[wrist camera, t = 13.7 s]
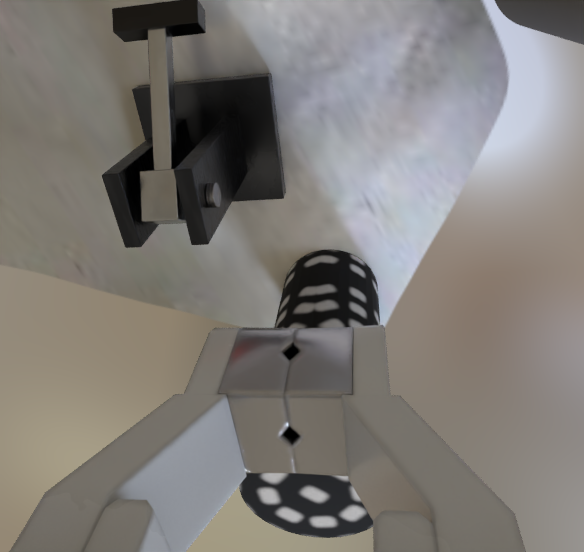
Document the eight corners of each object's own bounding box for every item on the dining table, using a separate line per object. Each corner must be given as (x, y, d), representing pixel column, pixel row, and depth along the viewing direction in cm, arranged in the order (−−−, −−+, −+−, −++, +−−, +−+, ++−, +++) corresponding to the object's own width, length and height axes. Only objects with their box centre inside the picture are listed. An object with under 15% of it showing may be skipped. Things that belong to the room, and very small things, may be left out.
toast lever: (128, 24, 28) (106, 3, 26) (208, 14, 28) (193, -8, 25) (137, 225, 29) (117, 222, 27) (216, 221, 28) (203, 218, 26)
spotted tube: (267, 298, 44) (213, 498, 27) (317, 232, 40) (289, 420, 23) (341, 340, 46) (333, 553, 29) (396, 281, 41) (425, 490, 25)
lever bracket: (138, 85, 35) (41, 134, 24) (271, 73, 33) (231, 119, 23) (167, 199, 40) (97, 282, 29) (285, 192, 38) (258, 278, 27)
